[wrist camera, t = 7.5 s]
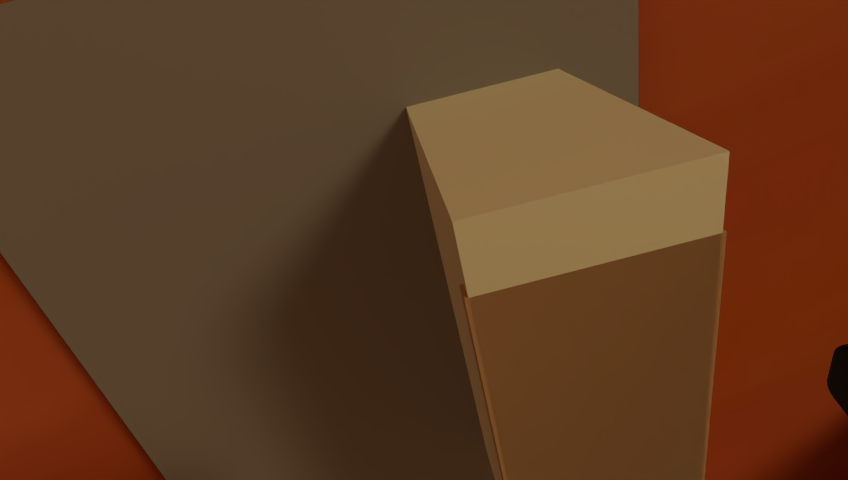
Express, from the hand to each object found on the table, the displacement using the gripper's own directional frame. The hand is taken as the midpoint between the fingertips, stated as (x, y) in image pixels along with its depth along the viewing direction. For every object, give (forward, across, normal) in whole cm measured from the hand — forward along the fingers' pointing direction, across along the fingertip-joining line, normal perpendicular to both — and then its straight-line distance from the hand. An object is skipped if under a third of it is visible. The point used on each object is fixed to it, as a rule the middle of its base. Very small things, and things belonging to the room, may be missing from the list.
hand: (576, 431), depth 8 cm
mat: (+5, +3, 0) cm, 6 cm away
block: (+4, 0, 0) cm, 4 cm away
